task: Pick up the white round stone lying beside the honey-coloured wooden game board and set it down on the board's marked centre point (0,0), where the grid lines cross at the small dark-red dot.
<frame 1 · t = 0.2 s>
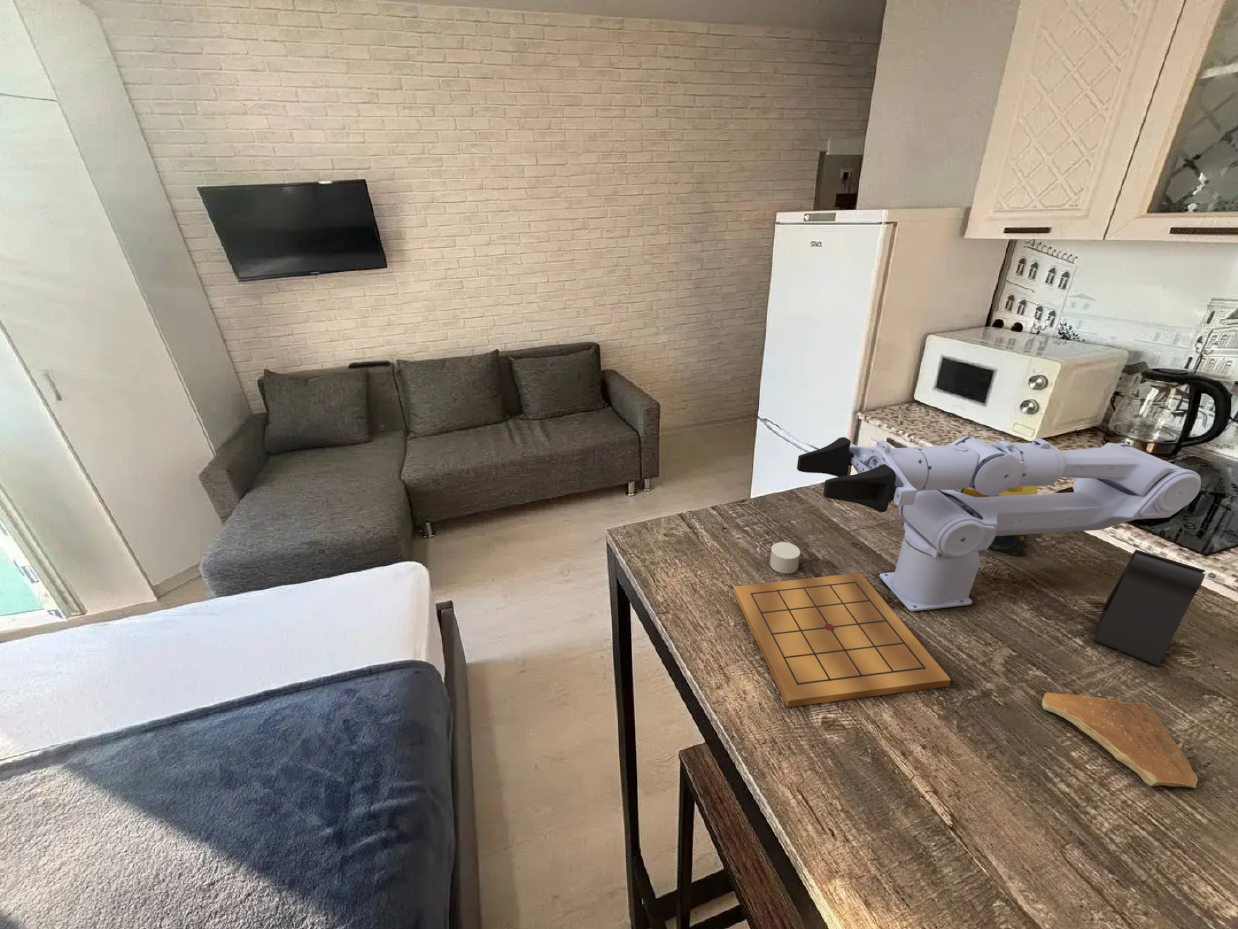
hand: (811, 475, 65), 21 cm above the table, tool horizontal, fingers open, 7 cm apart
phone stand: (1127, 636, 67), on the table
pottery shard: (1113, 745, 54), on the table
yellow cube with hollow: (983, 533, 88), on the table
white stone: (783, 565, 82), on the table
game board: (828, 634, 69), on the table
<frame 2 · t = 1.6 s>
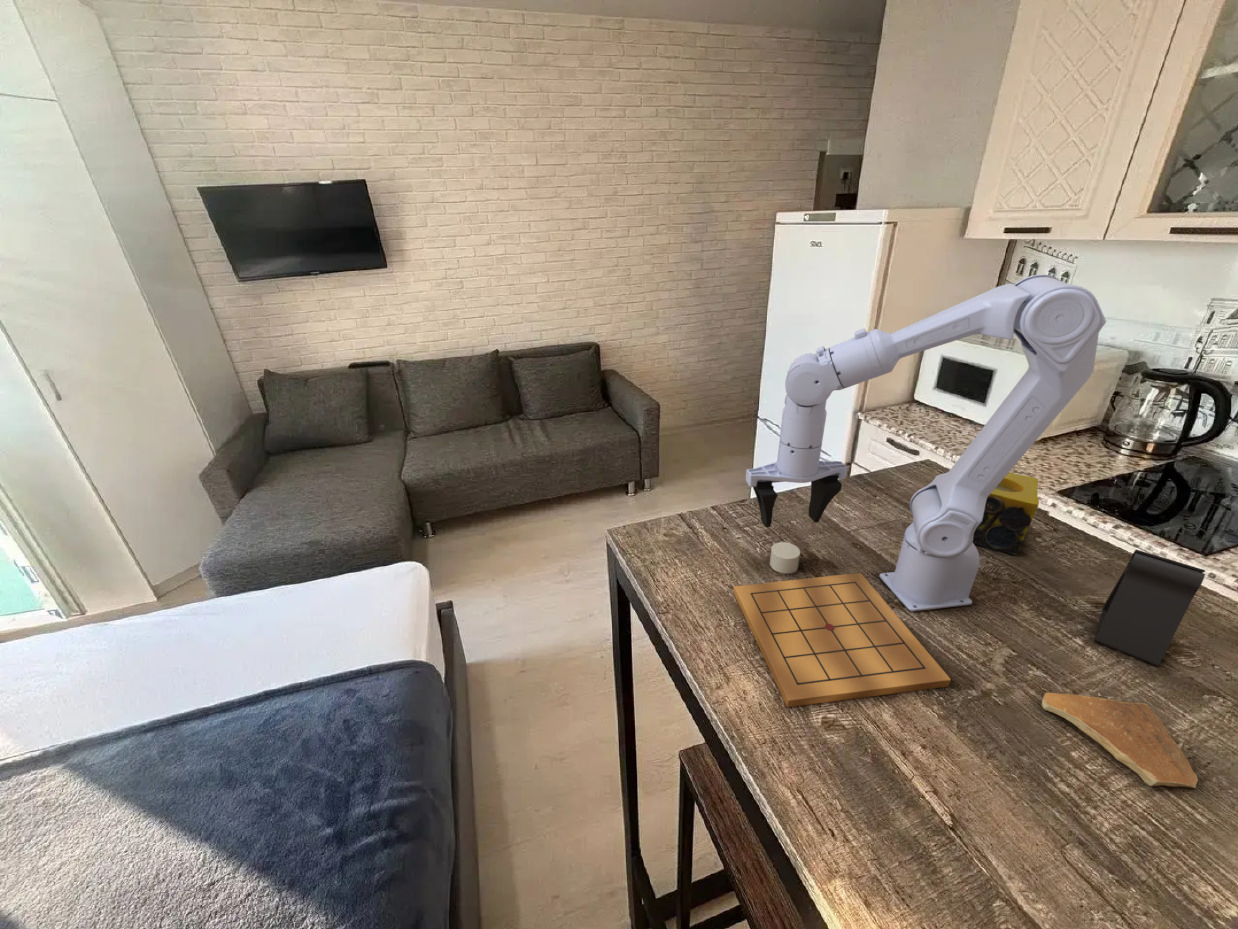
hand: (789, 521, 78), 8 cm above the table, tool pointing down, fingers open, 7 cm apart
nothing on the table moved.
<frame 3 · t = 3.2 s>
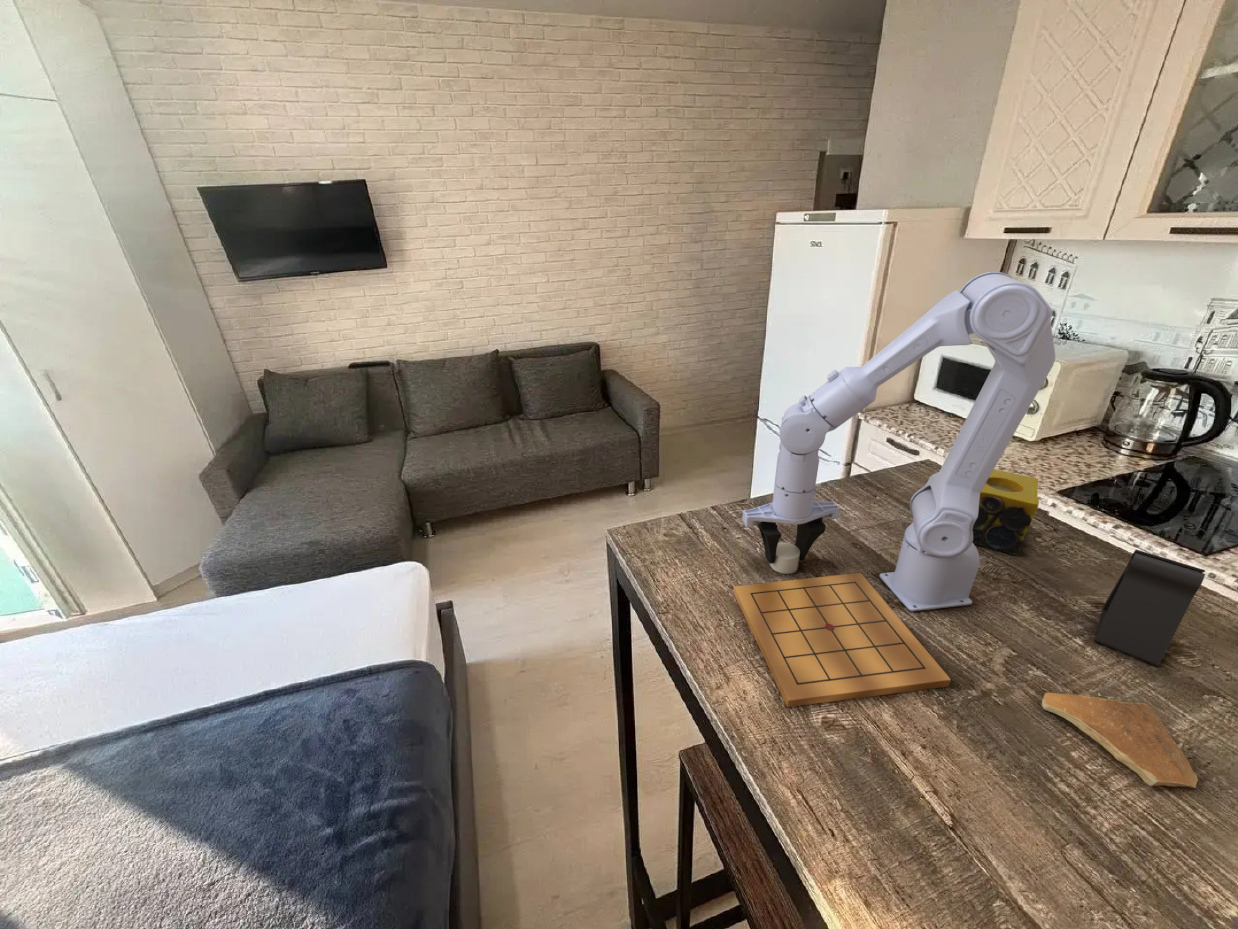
hand: (784, 558, 81), 1 cm above the table, tool pointing down, fingers closed on white stone, 4 cm apart
white stone: (783, 565, 82), on the table, touching gripper
everything else where it was.
when the fingers open (3 cm above the table, at t = 7.4 s): white stone stays where it is, resting on game board.
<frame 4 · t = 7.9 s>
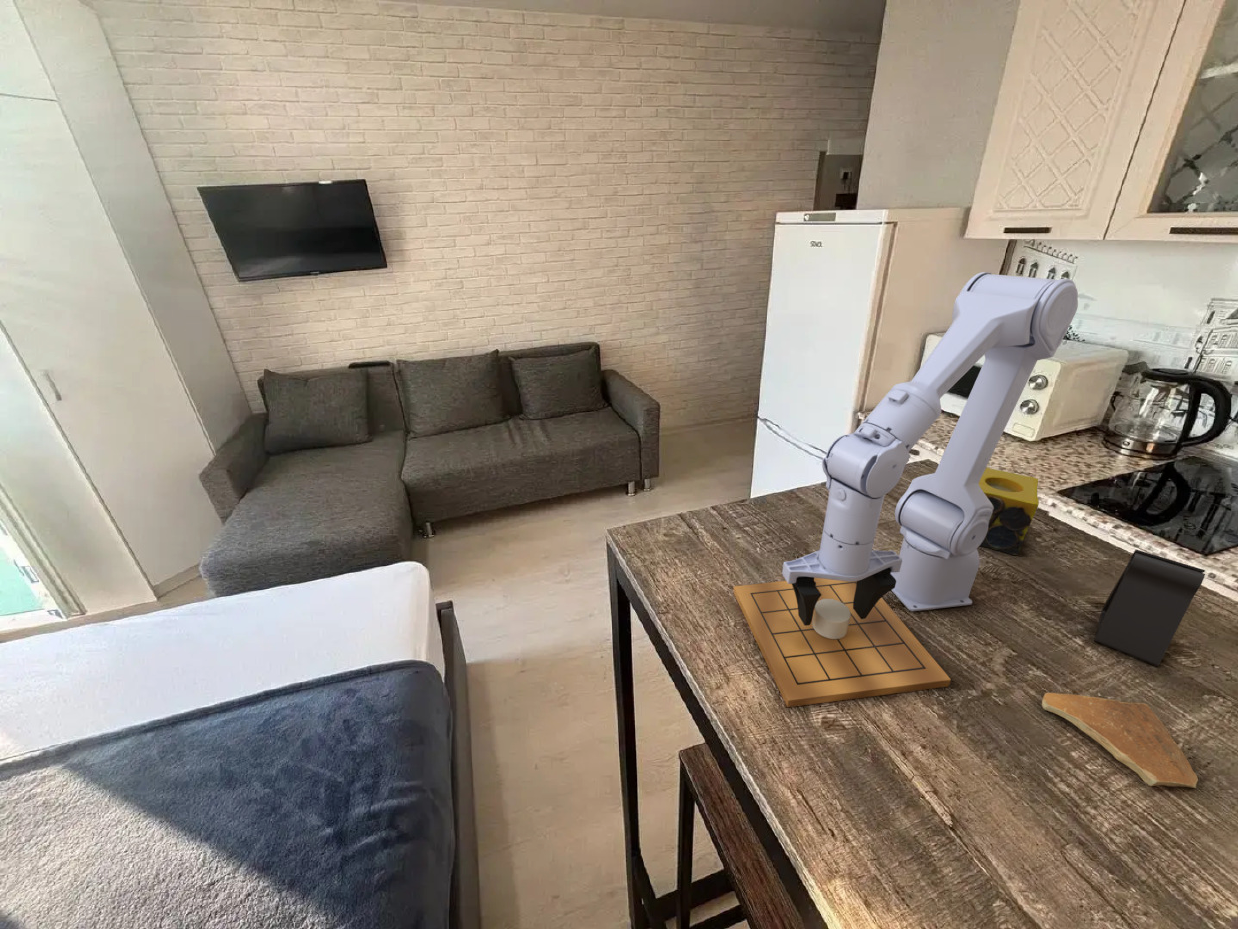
hand: (831, 616, 67), 3 cm above the table, tool pointing down, fingers open, 7 cm apart
white stone: (829, 627, 68), point 1 cm above the table, touching game board
everything else where it was.
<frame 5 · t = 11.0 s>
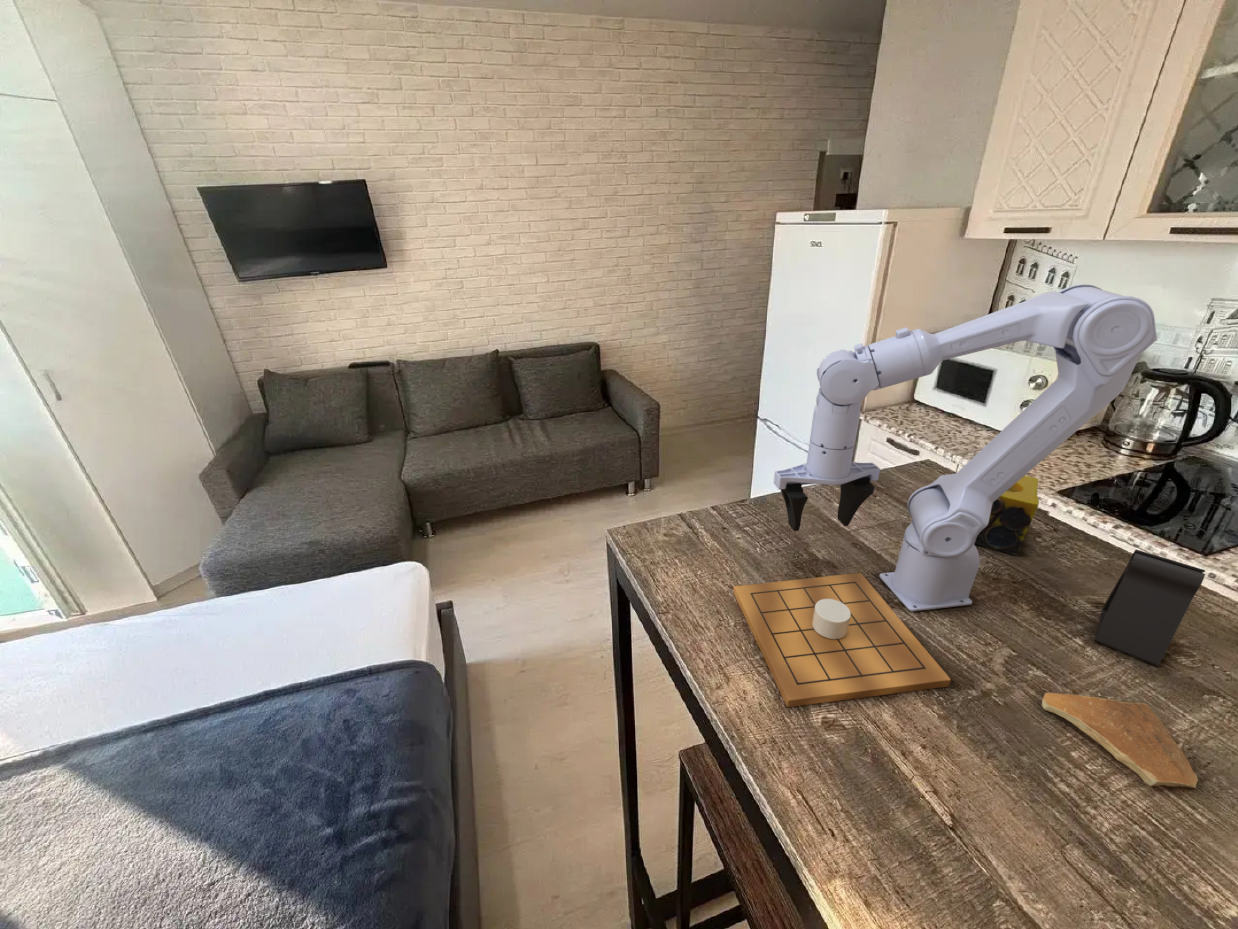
hand: (818, 524, 75), 9 cm above the table, tool pointing down, fingers open, 7 cm apart
nothing on the table moved.
at the end: white stone 0.1 cm off-centre on the game board, point 1.3 cm above the game board's base; white stone tilted 0°; the gripper is holding nothing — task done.
